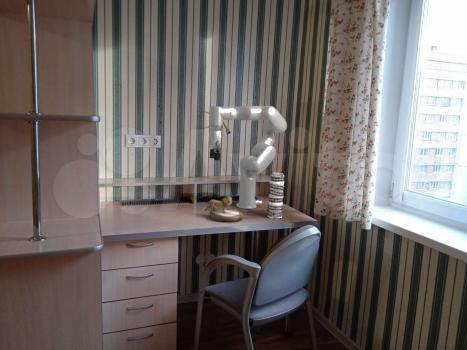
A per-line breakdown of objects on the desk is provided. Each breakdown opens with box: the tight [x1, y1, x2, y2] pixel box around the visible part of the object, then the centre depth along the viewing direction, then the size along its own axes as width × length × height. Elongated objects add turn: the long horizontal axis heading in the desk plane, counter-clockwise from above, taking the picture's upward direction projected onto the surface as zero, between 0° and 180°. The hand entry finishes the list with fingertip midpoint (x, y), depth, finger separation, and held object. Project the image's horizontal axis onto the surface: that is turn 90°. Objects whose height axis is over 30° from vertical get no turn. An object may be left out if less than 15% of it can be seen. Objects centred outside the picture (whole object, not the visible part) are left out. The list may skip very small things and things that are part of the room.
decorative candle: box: [266, 171, 286, 219], centre depth 205 cm, size 9×9×25 cm
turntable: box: [209, 205, 244, 222], centre depth 199 cm, size 18×18×5 cm
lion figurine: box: [204, 195, 233, 214], centre depth 199 cm, size 15×5×9 cm, turn 91°
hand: (214, 159), depth 208 cm, fingers open, 9 cm apart
